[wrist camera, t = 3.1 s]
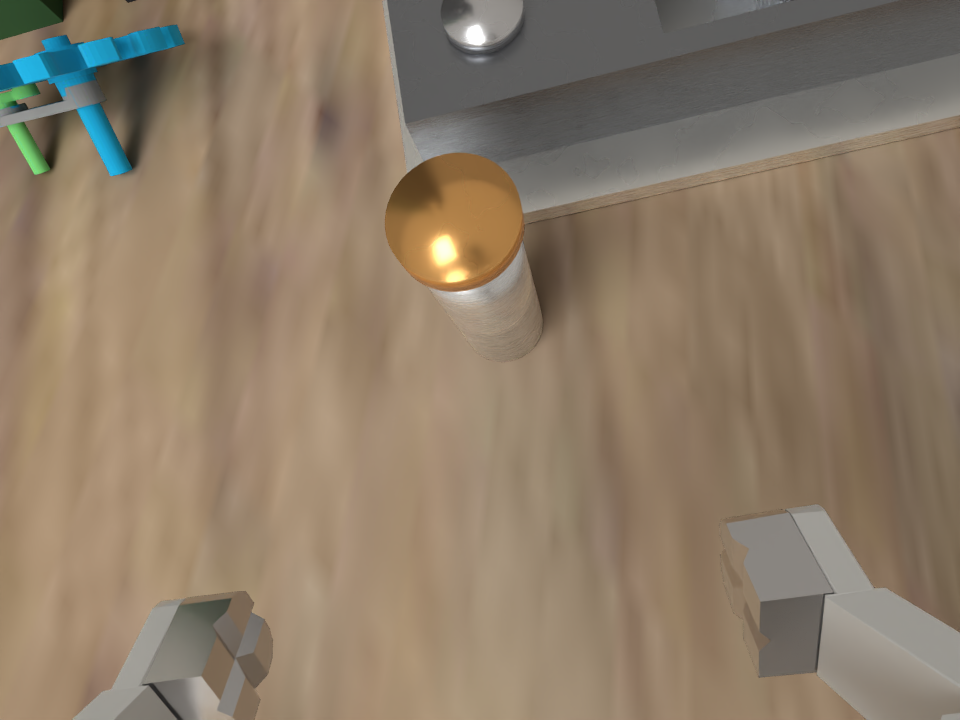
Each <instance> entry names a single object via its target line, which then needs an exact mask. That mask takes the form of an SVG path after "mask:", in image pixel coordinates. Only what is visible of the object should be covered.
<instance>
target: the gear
mask: <svg viewBox="0 0 960 720" xmlns="http://www.w3.org/2000/svg"><path fill="white" fill-rule="evenodd" d="M42 43H43V45H44V47H45V49H46V51H42V52H39V53H36V54H34V55H33V56H29V57H25V58H21V59H17V60H14V61H13V63H8V64H4V65H0V92H2V91H6V90H9V89H11V90H12V91H9V92H5V93H2V94H0V127H4V126H7V127H8V129H9V131H10V132H11V134H12V136H13V137H14V139H15V141H16V143H17V144H18V146H19V148H20V150H21V151H22V153H23V155H24V157H25V158H26V160H27V162H28V164H29V165H30V167H31V169H32V171H33V172H34V174H39V173H43V172H46V171H49V170H50V168H49V166H48V164H47V162H46V161H45V159H44V157H43V155H42V154H41V152H40V150H39V148H38V146H37V145H36V143H35V141H34V139H33V137H32V136H31V134H30V132H29V130H28V128H27V127H26V125H25V123H24V121H28V120H33V119H37V118H41V117H45V116H49V115H53V114H57V113H62V112H66V111H70V110H74V109H76V110H77V112H78V113H79V115H80V117H81V119H82V121H83V123H84V125H85V127H86V129H87V131H88V133H89V135H90V137H91V139H92V141H93V143H94V145H95V147H96V149H97V150H98V152H99V154H100V156H101V158H102V160H103V162H104V164H105V166H106V168H107V170H108V172H109V174H110V176H115V175H119V174H122V173H125V172H128V171H130V170H132V167H131V165H130V163H129V161H128V159H127V157H126V155H125V153H124V151H123V149H122V147H121V145H120V143H119V141H118V139H117V137H116V135H115V133H114V131H113V129H112V127H111V125H110V123H109V121H108V118H107V116H106V114H105V112H104V110H103V108H102V106H101V104H100V102H103V101H106V98H105V96H104V94H103V92H102V90H101V88H100V86H99V84H98V82H97V80H96V78H95V76H94V74H93V73H95V72H98V71H97V69H96V67H100V66H104V65H107V64H111V63H115V62H119V61H123V60H127V59H131V58H135V57H139V56H143V55H146V54H149V53H153V52H157V51H161V50H165V49H169V48H173V47H175V46H179V45H183V44H185V43H184V41H183V38H182V36H181V33H180V31H179V28H178V26H177V25H170V26H166V27H162V28H160V27H155V28H151V29H146V30H142V31H137V32H134V33H130V34H127V36H123V37H119V38H115V39H113V38H112V37H108V38H104V39H100V40H95V41H91V42H87V43H84V42H81V43H75V44H71V43H70V41H69V39H68V37H67V35H63V36H58V37H53V38H49V39H46V40H42ZM46 80H48V82H49V84H52V83H55V85H56V87H57V89H58V90H59V92H60V94H61V96H62V98H63V101H59V102H55V103H50V104H46V105H42V106H38V107H34V108H30V109H28V107H27V105H26V104H25V103H22V104H17V102H16V100H19V99H23V98H27V97H30V96H34V95H38V94H41V93H40V92H39V90H38V88H37V86H36V84H35V83H38V82H42V81H46Z"/></svg>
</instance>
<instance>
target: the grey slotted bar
mask: <svg viewBox="0 0 960 720" xmlns="http://www.w3.org/2000/svg"><path fill="white" fill-rule="evenodd" d="M382 2H383V9H384V16H385V23H386V29H387V36H388V43H389V50H390V57H391V64H392V71H393V78H394V84H395V91H396V98H397V105H398V112H399V119H400V126H401V133H402V139H403V146H404V153H405V160H406V167H407V173H408V172H410V171H411V170H412V169H413V168H415V167H416V166H417V165H419V164H420V163H422V162H424V161H426V160H428V159H430V158H433V157H436V156H439V155H443V154H448V153H471V154H475V155H479V156H482V157H485V158H487V159H489V160H491V161H493V162H495V163H496V164H497V165H499V166H500V167H501V168H502V169H503V170H504V171H505V172H506V173H507V174H508V175H509V176H510V178H511V179H512V180H513V182H514V184H515V186H516V188H517V191H518V193H519V197H520V201H521V205H522V210H523V214H524V224H528V223H533V222H537V221H542V220H546V219H551V218H555V217H560V216H564V215H568V214H573V213H577V212H582V211H586V210H591V209H595V208H600V207H604V206H609V205H613V204H618V203H622V202H627V201H631V200H636V199H640V198H645V197H649V196H653V195H658V194H662V193H667V192H671V191H676V190H680V189H685V188H689V187H694V186H698V185H703V184H707V183H712V182H716V181H721V180H725V179H730V178H734V177H738V176H743V175H747V174H752V173H756V172H761V171H765V170H770V169H774V168H779V167H783V166H788V165H792V164H797V163H801V162H806V161H810V160H815V159H819V158H824V157H828V156H832V155H837V154H841V153H846V152H850V151H855V150H859V149H864V148H868V147H873V146H877V145H882V144H886V143H891V142H895V141H900V140H904V139H909V138H913V137H917V136H922V135H926V134H931V133H935V132H940V131H944V130H949V129H953V128H958V127H960V0H384V1H382Z"/></svg>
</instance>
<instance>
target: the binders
mask: <svg viewBox="0 0 960 720" xmlns="http://www.w3.org/2000/svg"><path fill="white" fill-rule="evenodd" d="M126 1H127V2H128V3H129V2H132V1H136V0H126ZM60 22H63V0H0V40H2V39H5V38H8V37H12V36H15V35H19V34H22V33H26V32H29V31H33V30H36V29H39V28H43V27H46V26H50V25H53V24H57V23H60Z"/></svg>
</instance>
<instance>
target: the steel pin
mask: <svg viewBox="0 0 960 720" xmlns="http://www.w3.org/2000/svg"><path fill="white" fill-rule="evenodd" d="M524 225H525V224H524V214H523V210H522V205H521V201H520V197H519V193H518V191H517V188H516V186H515V184H514V182H513V180H512V179H511V178H510V176H509V175H508V174H507V173H506V172H505V171H504V170H503V169H502V168H501V167H500V166H499V165H497V164H496V163H495V162H493V161H491V160H489V159H487V158H485V157H482V156H479V155H475V154H471V153H448V154H443V155H439V156H436V157H433V158H430V159H428V160H426V161H424V162H422V163H420V164H419V165H417V166H416V167H415V168H413V169H412V170H411V171H410V172H408V173H407V174H406V175H405V176H404V177H403V178H402V180H401V181H400V182H399V183H398V185H397V186H396V188H395V189H394V191H393V193H392V195H391V197H390V200H389V202H388V205H387V209H386V215H385V231H386V237H387V240H388V243H389V246H390V248H391V250H392V252H393V253H394V255H395V256H396V258H397V259H398V260H399V262H400V263H401V264H402V266H403V267H404V268H405V269H406V271H407V272H408V273H409V274H410V275H411V276H412V277H413V278H415V279H416V280H417V281H419V282H420V283H422V284H423V285H426V286H427V287H428V288H429V289H430V291H431V292H432V294H433V295H434V296H435V298H436V299H437V300H438V302H439V303H440V304H441V306H442V307H443V308H444V310H445V311H446V313H447V314H448V315H449V317H450V318H451V319H452V321H453V322H454V323H455V325H456V326H457V327H458V329H459V330H460V331H461V333H462V334H463V336H464V337H465V338H466V340H467V341H468V342H469V344H470V345H471V346H472V348H473V349H474V350H475V351H476V352H477V353H478V354H479V355H481V356H483V357H484V358H486V359H489V360H492V361H497V362H508V361H513V360H516V359H519V358H521V357H523V356H524V355H526V354H527V353H528V352H530V351H531V350H532V349H533V347H534V346H535V345H536V343H537V342H538V340H539V338H540V336H541V333H542V328H543V317H542V313H541V309H540V305H539V301H538V297H537V293H536V289H535V286H534V282H533V278H532V274H531V270H530V266H529V263H528V259H527V255H526V251H525V247H524V243H523V235H524Z"/></svg>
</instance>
